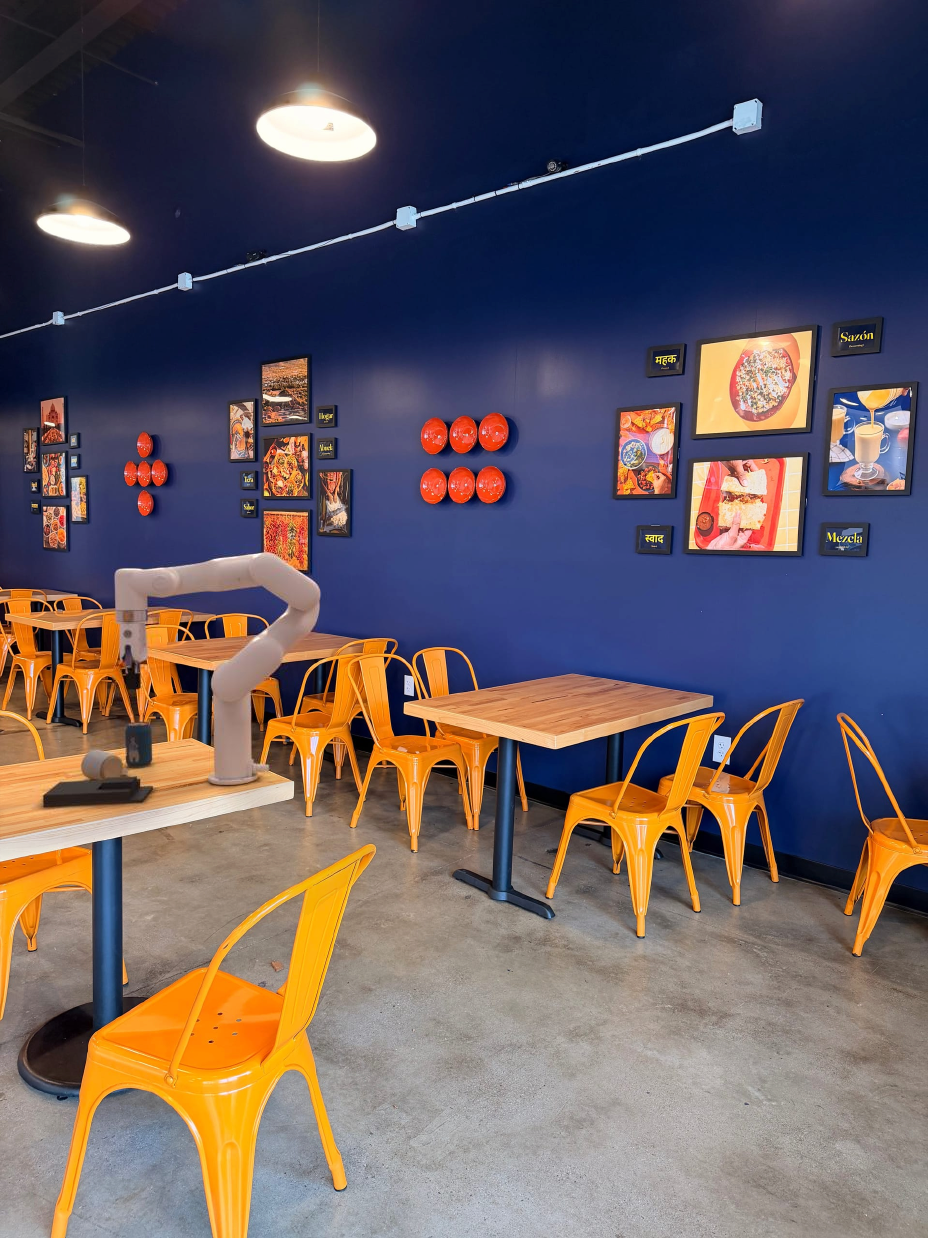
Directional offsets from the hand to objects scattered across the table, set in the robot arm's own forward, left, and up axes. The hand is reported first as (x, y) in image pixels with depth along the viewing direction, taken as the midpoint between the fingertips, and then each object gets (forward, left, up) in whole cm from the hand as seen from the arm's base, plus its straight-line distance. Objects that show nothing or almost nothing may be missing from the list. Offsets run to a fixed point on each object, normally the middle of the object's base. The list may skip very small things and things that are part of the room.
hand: (133, 688), depth 203 cm
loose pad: (+2, +10, -24) cm, 26 cm away
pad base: (+6, +10, -25) cm, 28 cm away
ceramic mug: (+9, -8, -25) cm, 28 cm away
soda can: (+4, -22, -25) cm, 34 cm away
